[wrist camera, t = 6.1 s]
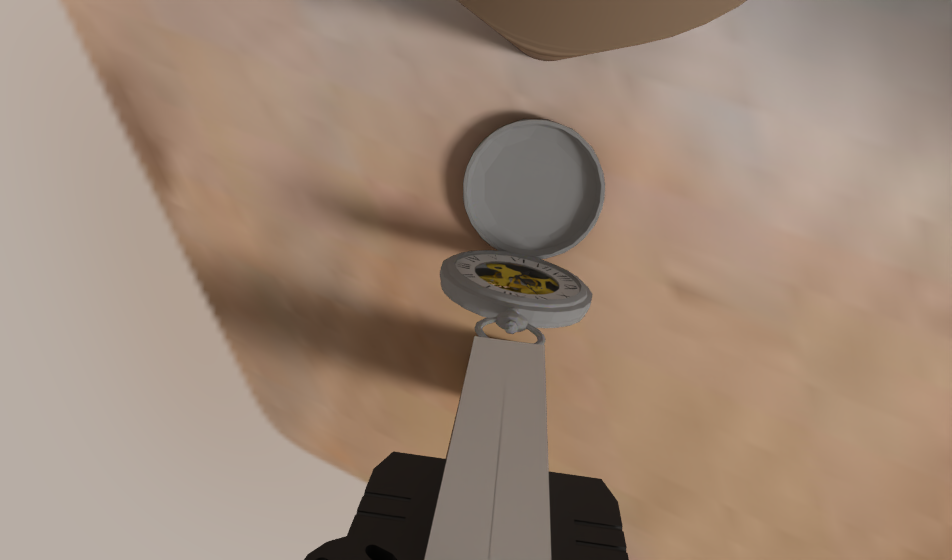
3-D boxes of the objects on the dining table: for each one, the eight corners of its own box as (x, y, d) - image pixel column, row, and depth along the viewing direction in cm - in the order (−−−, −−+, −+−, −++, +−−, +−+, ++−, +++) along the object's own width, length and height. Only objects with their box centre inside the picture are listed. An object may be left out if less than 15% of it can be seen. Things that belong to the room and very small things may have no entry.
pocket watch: (574, 94, 28) (592, 110, 18) (633, 258, 30) (676, 346, 21) (414, 162, 30) (356, 208, 20) (481, 312, 32) (457, 416, 23)
